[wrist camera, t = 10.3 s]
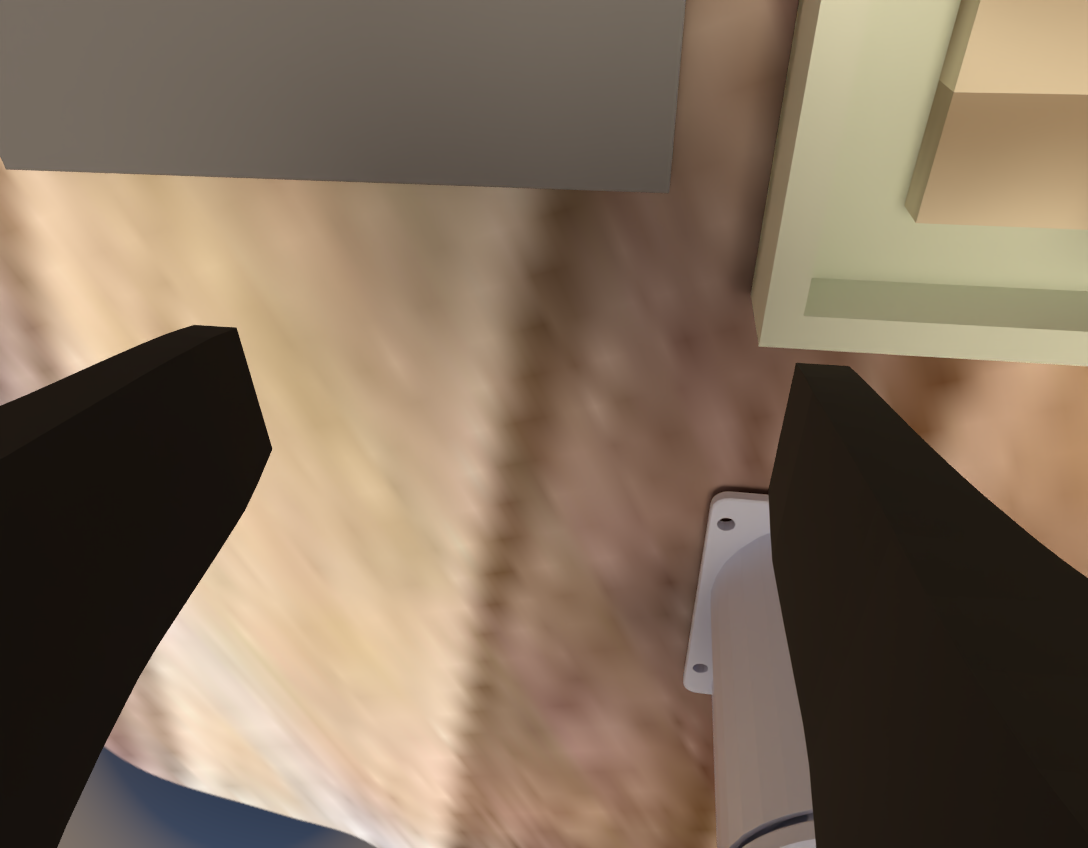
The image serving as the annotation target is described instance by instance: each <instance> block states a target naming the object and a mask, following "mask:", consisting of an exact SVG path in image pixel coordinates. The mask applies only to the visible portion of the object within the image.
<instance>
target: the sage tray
mask: <svg viewBox="0 0 1088 848" xmlns="http://www.w3.org/2000/svg"><path fill="white" fill-rule="evenodd" d="M960 2H961V0H799V4H798V10H797V16H796V22H795V28H794V34H793V40H792V46H791V52H790V58H789V64H788V70H787V77H786V83H785V89H784V95H783V101H782V107H781V113H780V119H779V125H778V131H777V137H776V143H775V149H774V155H773V162H772V168H771V174H770V180H769V186H768V192H767V198H766V204H765V210H764V216H763V222H762V228H761V234H760V240H759V247H758V253H757V259H756V265H755V271H754V277H753V283H752V289H751V300H752V307H753V313H754V319H755V326H756V332H757V338H758V345H759V346H760V347H776V348H793V349H809V350H826V351H842V352H859V353H875V354H892V355H908V356H925V357H941V358H958V359H974V360H991V361H1007V362H1024V363H1040V364H1057V365H1073V366H1088V230H1080V229H1055V228H1029V227H1003V226H978V225H952V224H926V223H915V221H914V220H913V218H912V217H911V215H910V214H909V212H908V210H907V209H906V207H905V206H904V204H905V201H906V197H907V194H908V190H909V186H910V183H911V179H912V176H913V172H914V168H915V165H916V161H917V158H918V154H919V150H920V147H921V143H922V140H923V136H924V132H925V129H926V125H927V121H928V118H929V114H930V111H931V107H932V103H933V100H934V96H935V93H936V89H937V85H938V82H939V78H940V75H941V71H942V67H943V64H944V60H945V57H946V53H947V49H948V46H949V42H950V38H951V35H952V31H953V28H954V24H955V20H956V17H957V13H958V10H959V6H960Z"/></svg>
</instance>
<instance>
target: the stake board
mask: <svg viewBox="0 0 1088 848" xmlns="http://www.w3.org/2000/svg"><path fill="white" fill-rule="evenodd" d="M685 4H686V0H0V157H1V159H2V161H3V163H4V166H5V168H6V169H11V170H39V171H66V172H94V173H122V174H150V175H177V176H205V177H233V178H261V179H289V180H316V181H344V182H372V183H400V184H427V185H455V186H483V187H511V188H538V189H566V190H594V191H622V192H649V193H669V190H670V179H671V167H672V155H673V144H674V132H675V120H676V109H677V97H678V85H679V74H680V62H681V50H682V39H683V27H684V15H685Z"/></svg>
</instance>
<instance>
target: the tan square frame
mask: <svg viewBox="0 0 1088 848" xmlns="http://www.w3.org/2000/svg"><path fill="white" fill-rule="evenodd" d="M904 206H905V207H906V209H907V210H908V212H909V214H910V215H911V217H912V218H913V220H914V221H915V223H926V224H952V225H978V226H1003V227H1029V228H1055V229H1080V230H1088V0H961V2H960V6H959V10H958V13H957V17H956V20H955V24H954V28H953V31H952V35H951V38H950V42H949V46H948V49H947V53H946V57H945V60H944V64H943V67H942V71H941V75H940V78H939V82H938V85H937V89H936V93H935V96H934V100H933V103H932V107H931V111H930V114H929V118H928V121H927V125H926V129H925V132H924V136H923V140H922V143H921V147H920V150H919V154H918V158H917V161H916V165H915V168H914V172H913V176H912V179H911V183H910V186H909V190H908V194H907V197H906V201H905V204H904Z"/></svg>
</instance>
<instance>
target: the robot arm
mask: <svg viewBox="0 0 1088 848" xmlns="http://www.w3.org/2000/svg"><path fill="white" fill-rule="evenodd" d="M271 451H272V446H271V443H270V440H269V436H268V433H267V429H266V426H265V423H264V419H263V416H262V412H261V409H260V406H259V402H258V399H257V395H256V392H255V389H254V385H253V382H252V378H251V375H250V372H249V368H248V365H247V362H246V358H245V355H244V351H243V348H242V345H241V341H240V338H239V334H238V331H237V328H233V327H217V326H201V325H193V326H189V327H186V328H183V329H180V330H177V331H174V332H171V333H168V334H165V335H163V336H160V337H158V338H155V339H153V340H150V341H148V342H145V343H143V344H141V345H138V346H136V347H134V348H131V349H129V350H127V351H124V352H122V353H120V354H117V355H115V356H113V357H111V358H108V359H106V360H104V361H102V362H99V363H97V364H95V365H93V366H90V367H88V368H86V369H84V370H81V371H79V372H77V373H75V374H73V375H70V376H68V377H66V378H64V379H61V380H59V381H57V382H55V383H52V384H50V385H48V386H46V387H43V388H41V389H39V390H37V391H35V392H32V393H30V394H28V395H25V396H23V397H21V398H18V399H16V400H13V401H11V402H9V403H6V404H4V405H1V406H0V848H57V847H58V844H59V842H60V839H61V837H62V835H63V832H64V829H65V828H66V825H67V823H68V821H69V819H70V817H71V815H72V812H73V810H74V808H75V806H76V804H77V802H78V800H79V798H80V795H81V793H82V791H83V789H84V787H85V785H86V783H87V781H88V778H89V776H90V774H91V772H92V770H93V768H94V766H95V763H96V761H97V759H98V757H99V755H100V753H101V751H102V749H103V747H104V745H105V743H106V741H107V739H108V737H109V735H110V733H111V731H112V729H113V727H114V725H115V723H116V721H117V719H118V717H119V715H120V713H121V711H122V709H123V707H124V705H125V703H126V701H127V699H128V698H129V696H130V694H131V692H132V690H133V688H134V686H135V684H136V682H137V680H138V678H139V676H140V675H141V673H142V671H143V670H144V668H145V666H146V665H147V663H148V661H149V659H150V658H151V656H152V654H153V653H154V651H155V649H156V648H157V646H158V644H159V643H160V641H161V640H162V638H163V637H164V635H165V634H166V632H167V631H168V629H169V628H170V626H171V624H172V623H173V621H174V620H175V618H176V617H177V615H178V614H179V612H180V611H181V609H182V608H183V606H184V605H185V603H186V602H187V600H188V598H189V597H190V595H191V594H192V592H193V591H194V589H195V588H196V586H197V585H198V583H199V582H200V580H201V579H202V577H203V575H204V574H205V572H206V571H207V569H208V568H209V566H210V565H211V563H212V562H213V560H214V559H215V557H216V556H217V554H218V552H219V551H220V549H221V548H222V546H223V545H224V543H225V541H226V540H227V538H228V537H229V535H230V534H231V532H232V530H233V529H234V527H235V526H236V524H237V522H238V521H239V519H240V518H241V516H242V514H243V513H244V511H245V509H246V507H247V505H248V503H249V501H250V499H251V497H252V494H253V492H254V490H255V488H256V486H257V484H258V482H259V479H260V477H261V475H262V472H263V470H264V468H265V465H266V463H267V460H268V458H269V456H270V453H271ZM722 518H729V519H732V520H731V521H727V522H724V521H720V519H722ZM683 684H684V687H685V688H686V689H688V690H689V691H691V692H695V693H703V694H712V715H713V744H714V773H715V802H716V831H717V848H1088V578H1087V577H1085V576H1084V575H1083V574H1081V573H1080V572H1078V571H1077V570H1076V569H1074V568H1073V567H1071V566H1070V565H1069V564H1067V563H1066V562H1065V561H1063V560H1062V559H1061V558H1059V557H1058V556H1057V555H1056V554H1054V553H1053V552H1052V551H1050V550H1049V549H1048V548H1047V547H1045V546H1044V545H1043V544H1041V543H1040V542H1039V541H1038V540H1036V539H1035V538H1034V537H1033V536H1031V535H1030V534H1029V533H1028V532H1026V531H1025V530H1024V529H1023V528H1022V527H1021V526H1019V525H1018V524H1017V523H1016V522H1015V521H1013V520H1012V519H1011V518H1010V517H1009V516H1007V515H1006V514H1005V513H1004V512H1003V511H1001V510H1000V509H999V508H998V507H997V506H996V505H994V504H993V503H992V502H991V501H990V500H988V499H987V498H986V497H985V496H984V495H983V494H981V493H980V492H979V491H978V490H977V489H976V488H975V487H974V486H973V485H971V484H970V483H969V482H968V481H967V480H966V479H965V478H964V477H962V476H961V475H960V474H959V473H958V472H957V471H956V470H955V469H954V468H953V467H952V466H951V465H949V464H948V463H947V462H946V461H945V460H944V459H943V458H942V457H941V456H940V455H939V454H938V453H937V452H936V451H935V450H934V449H933V448H931V447H930V446H929V445H928V444H927V443H926V442H925V441H924V440H923V439H922V438H921V437H920V436H919V435H918V434H917V433H916V432H915V431H914V430H913V429H912V428H911V427H910V426H909V425H908V424H907V423H906V422H905V421H904V420H903V419H902V418H901V417H900V416H899V415H898V414H897V413H896V412H895V411H894V410H893V409H892V408H891V407H890V406H889V405H888V404H887V403H886V402H885V401H884V400H883V399H882V398H881V397H880V396H879V395H878V394H877V393H876V392H875V391H874V390H873V389H872V388H871V387H870V386H869V385H868V384H867V383H866V382H865V381H864V380H863V379H862V378H861V377H860V376H859V375H858V374H857V373H856V372H855V371H854V370H852V369H851V368H850V367H849V366H836V365H820V364H804V363H796V366H795V370H794V375H793V380H792V384H791V389H790V393H789V398H788V403H787V407H786V412H785V416H784V421H783V426H782V430H781V435H780V439H779V444H778V449H777V453H776V458H775V462H774V467H773V472H772V476H771V481H770V485H769V490H768V495H767V494H755V493H743V492H731V491H728V492H721V493H719V494H717V495H715V496H714V497H713V498H712V501H711V503H710V510H709V516H708V522H707V529H706V535H705V541H704V548H703V554H702V560H701V566H700V573H699V579H698V585H697V592H696V598H695V604H694V611H693V617H692V623H691V630H690V636H689V642H688V648H687V655H686V661H685V667H684V674H683Z"/></svg>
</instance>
